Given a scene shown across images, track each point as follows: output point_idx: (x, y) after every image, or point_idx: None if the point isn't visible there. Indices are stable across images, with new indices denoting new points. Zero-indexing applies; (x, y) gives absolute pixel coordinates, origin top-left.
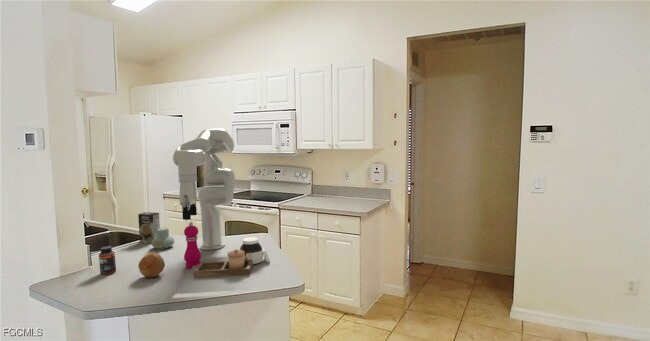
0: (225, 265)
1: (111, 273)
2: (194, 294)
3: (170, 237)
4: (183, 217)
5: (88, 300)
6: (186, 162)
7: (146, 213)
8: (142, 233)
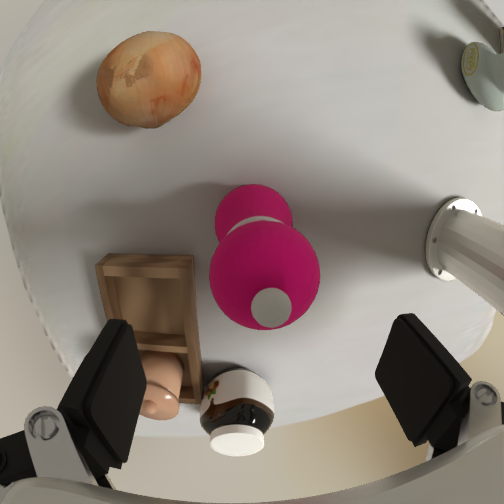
0: (153, 350)
1: None
2: (38, 275)
3: (500, 98)
4: (103, 340)
5: (37, 31)
6: None
7: None
8: None
